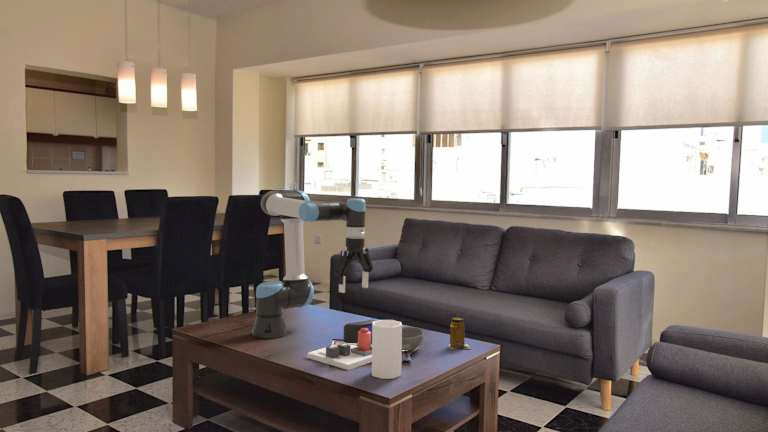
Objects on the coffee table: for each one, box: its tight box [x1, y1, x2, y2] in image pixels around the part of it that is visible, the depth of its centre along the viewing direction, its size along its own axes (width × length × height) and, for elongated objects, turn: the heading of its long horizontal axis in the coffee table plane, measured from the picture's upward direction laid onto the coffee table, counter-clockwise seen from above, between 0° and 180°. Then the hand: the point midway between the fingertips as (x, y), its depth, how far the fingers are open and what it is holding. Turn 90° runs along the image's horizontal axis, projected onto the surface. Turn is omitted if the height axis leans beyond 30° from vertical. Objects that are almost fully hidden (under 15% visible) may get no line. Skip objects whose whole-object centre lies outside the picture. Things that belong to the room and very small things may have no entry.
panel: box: [306, 341, 372, 371], centre depth 222 cm, size 22×20×4 cm
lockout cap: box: [358, 328, 372, 352], centre depth 222 cm, size 5×5×9 cm
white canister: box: [371, 319, 403, 380], centre depth 203 cm, size 11×11×18 cm
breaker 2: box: [338, 344, 350, 356], centre depth 219 cm, size 4×3×4 cm
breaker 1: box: [326, 345, 339, 358], centre depth 216 cm, size 4×3×4 cm
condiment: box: [448, 317, 471, 350], centre depth 238 cm, size 7×8×12 cm
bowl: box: [402, 326, 425, 352], centre depth 233 cm, size 18×18×8 cm
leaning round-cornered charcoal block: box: [343, 319, 376, 343], centre depth 241 cm, size 16×5×9 cm, turn 125°
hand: (353, 289), depth 227 cm, fingers open, 13 cm apart
